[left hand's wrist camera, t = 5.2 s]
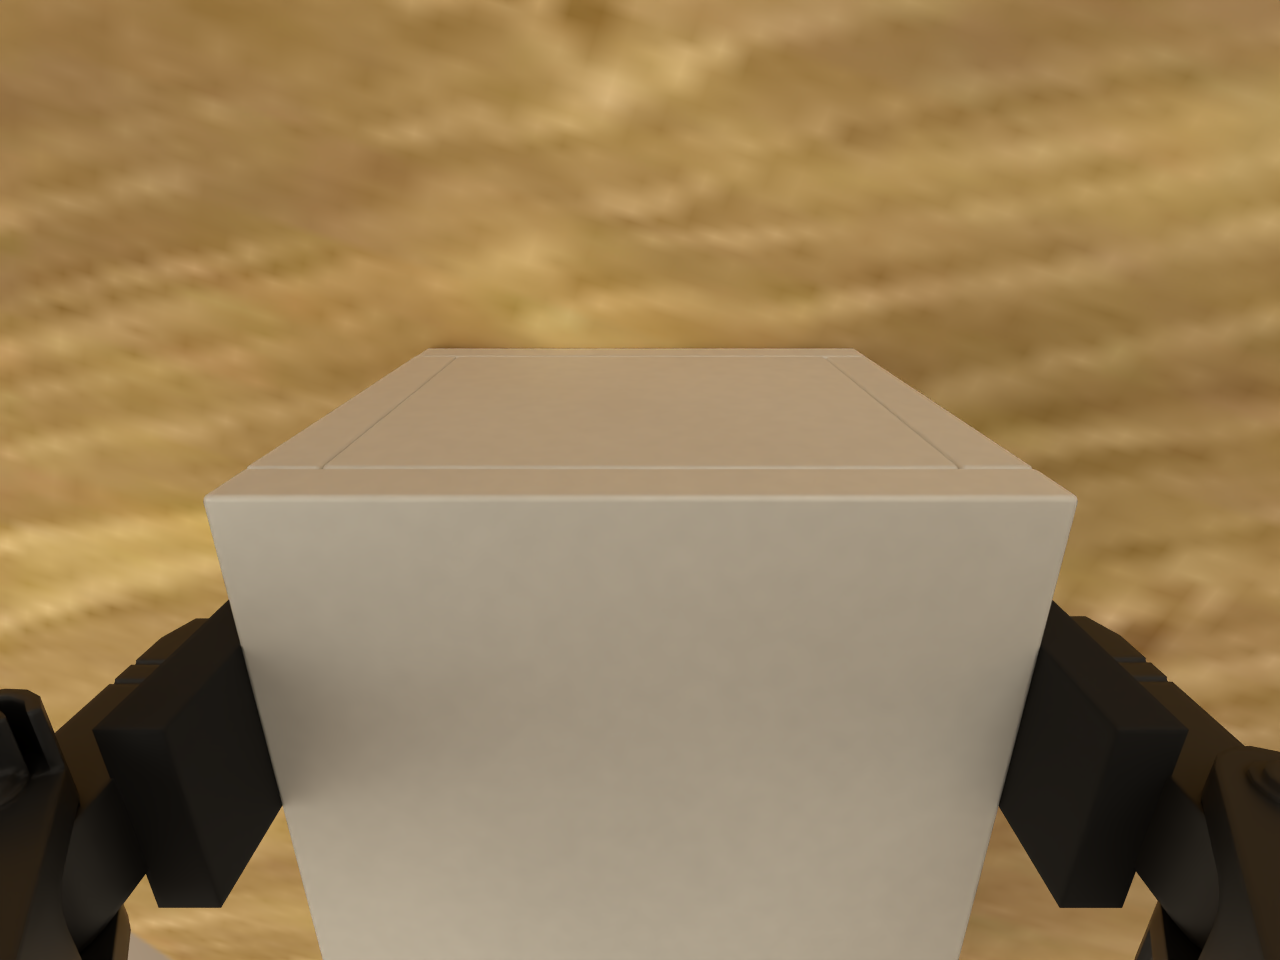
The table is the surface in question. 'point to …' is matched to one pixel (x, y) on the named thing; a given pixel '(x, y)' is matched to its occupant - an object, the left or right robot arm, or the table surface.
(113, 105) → the table surface
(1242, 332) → the table surface
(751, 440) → the cabinet
